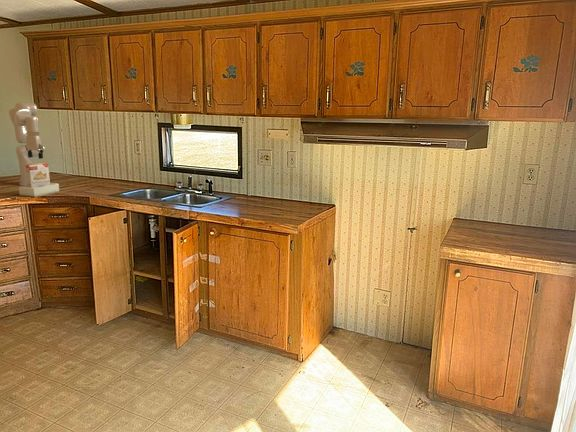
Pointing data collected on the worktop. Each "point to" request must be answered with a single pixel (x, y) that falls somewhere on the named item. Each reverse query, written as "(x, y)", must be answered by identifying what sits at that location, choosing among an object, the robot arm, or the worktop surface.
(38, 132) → the robot arm
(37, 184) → the cracker box
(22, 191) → the bin
